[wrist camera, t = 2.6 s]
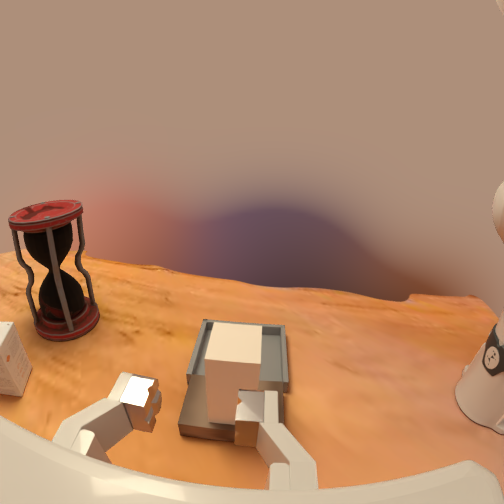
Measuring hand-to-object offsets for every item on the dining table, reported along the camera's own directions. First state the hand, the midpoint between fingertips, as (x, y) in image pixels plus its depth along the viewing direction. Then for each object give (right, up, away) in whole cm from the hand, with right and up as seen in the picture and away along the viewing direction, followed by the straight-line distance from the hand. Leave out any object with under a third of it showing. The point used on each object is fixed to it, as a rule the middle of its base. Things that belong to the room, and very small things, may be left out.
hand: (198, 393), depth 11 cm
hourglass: (-39, -10, +46) cm, 61 cm away
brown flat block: (-1, -18, +29) cm, 34 cm away
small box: (-40, -17, +26) cm, 51 cm away
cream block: (0, -16, +28) cm, 32 cm away
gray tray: (0, -13, +41) cm, 44 cm away
